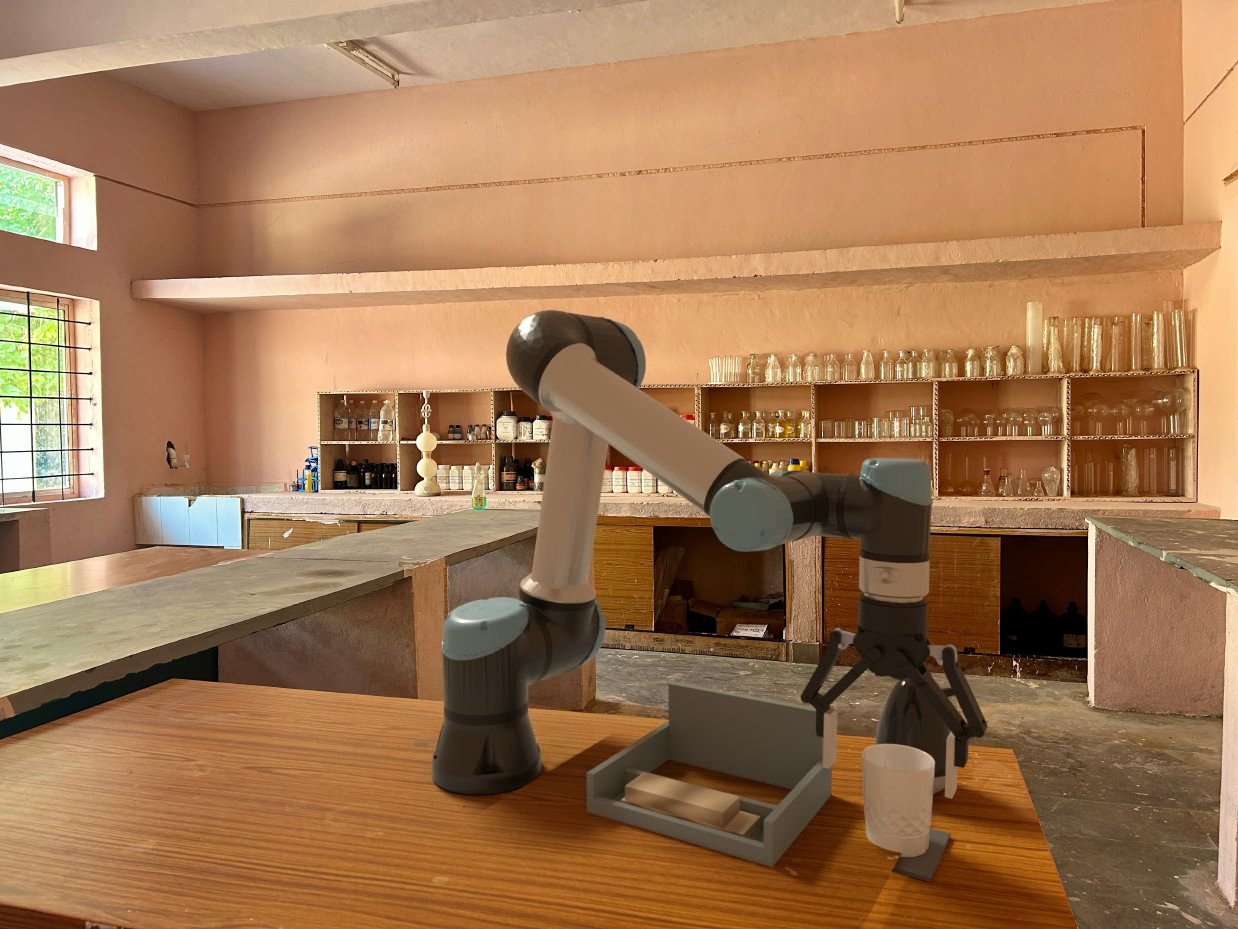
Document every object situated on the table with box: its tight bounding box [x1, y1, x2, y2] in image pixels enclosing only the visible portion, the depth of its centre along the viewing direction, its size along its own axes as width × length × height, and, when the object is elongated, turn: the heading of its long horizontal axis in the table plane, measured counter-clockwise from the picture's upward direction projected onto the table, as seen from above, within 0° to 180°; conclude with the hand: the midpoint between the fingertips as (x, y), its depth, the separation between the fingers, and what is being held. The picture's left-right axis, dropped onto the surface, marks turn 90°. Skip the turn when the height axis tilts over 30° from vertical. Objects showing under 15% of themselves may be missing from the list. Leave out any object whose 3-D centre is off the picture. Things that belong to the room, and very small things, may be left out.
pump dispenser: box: [874, 678, 956, 795], centre depth 108 cm, size 10×10×15 cm
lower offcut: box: [621, 797, 761, 840], centre depth 97 cm, size 16×5×2 cm, turn 58°
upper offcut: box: [625, 772, 740, 828], centre depth 97 cm, size 13×5×2 cm, turn 58°
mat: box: [891, 828, 951, 883], centre depth 94 cm, size 11×11×1 cm
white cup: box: [861, 744, 935, 857], centre depth 93 cm, size 8×8×10 cm
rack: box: [585, 680, 833, 868], centre depth 102 cm, size 24×20×12 cm
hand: (887, 778), depth 94 cm, fingers open, 13 cm apart
